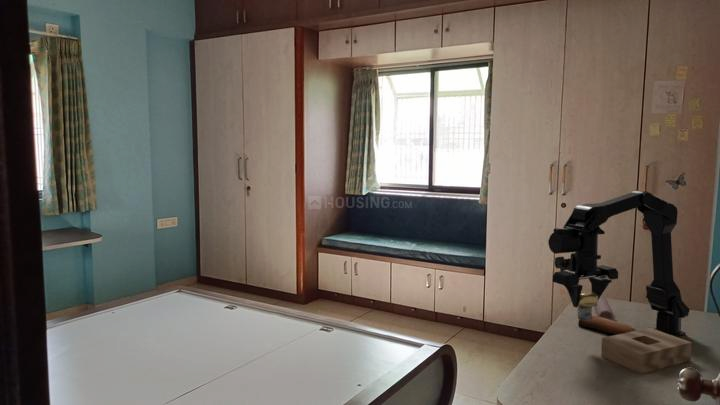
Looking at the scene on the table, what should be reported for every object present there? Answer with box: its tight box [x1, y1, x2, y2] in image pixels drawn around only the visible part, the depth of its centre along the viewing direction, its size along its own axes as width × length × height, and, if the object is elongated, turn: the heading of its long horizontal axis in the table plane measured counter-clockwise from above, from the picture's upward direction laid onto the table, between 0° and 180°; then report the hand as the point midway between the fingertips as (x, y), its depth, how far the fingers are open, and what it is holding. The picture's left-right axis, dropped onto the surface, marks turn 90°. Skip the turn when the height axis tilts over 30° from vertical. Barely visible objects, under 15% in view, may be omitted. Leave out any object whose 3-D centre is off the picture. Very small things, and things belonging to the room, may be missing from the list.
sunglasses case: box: [578, 315, 637, 336], centre depth 154 cm, size 18×7×7 cm
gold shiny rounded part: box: [577, 290, 598, 321], centre depth 142 cm, size 7×7×7 cm
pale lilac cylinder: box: [594, 295, 615, 321], centre depth 168 cm, size 5×5×18 cm
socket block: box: [601, 327, 692, 375], centre depth 134 cm, size 18×12×5 cm, turn 112°
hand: (584, 305), depth 142 cm, fingers closed on gold shiny rounded part, 7 cm apart
